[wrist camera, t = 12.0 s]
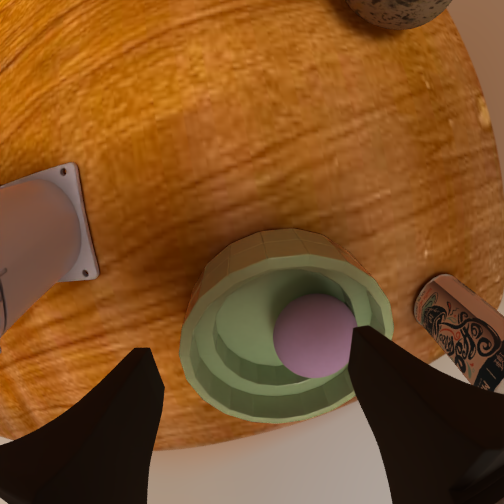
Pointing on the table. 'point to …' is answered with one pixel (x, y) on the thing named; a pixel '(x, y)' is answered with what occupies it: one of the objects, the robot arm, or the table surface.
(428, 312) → the beer can
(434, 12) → the decorative egg
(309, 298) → the ball
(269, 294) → the bowl
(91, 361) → the table surface
